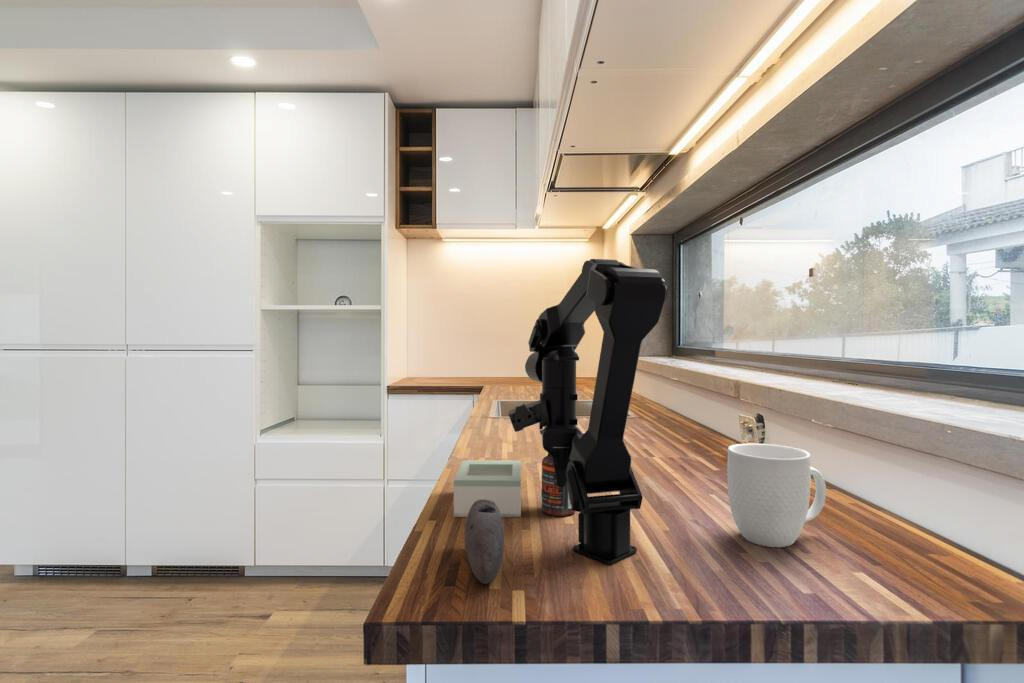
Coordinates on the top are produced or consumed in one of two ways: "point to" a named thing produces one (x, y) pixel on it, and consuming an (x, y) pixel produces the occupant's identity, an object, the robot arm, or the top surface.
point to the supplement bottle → (553, 491)
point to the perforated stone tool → (484, 540)
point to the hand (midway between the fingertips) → (559, 479)
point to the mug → (772, 492)
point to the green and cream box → (488, 486)
